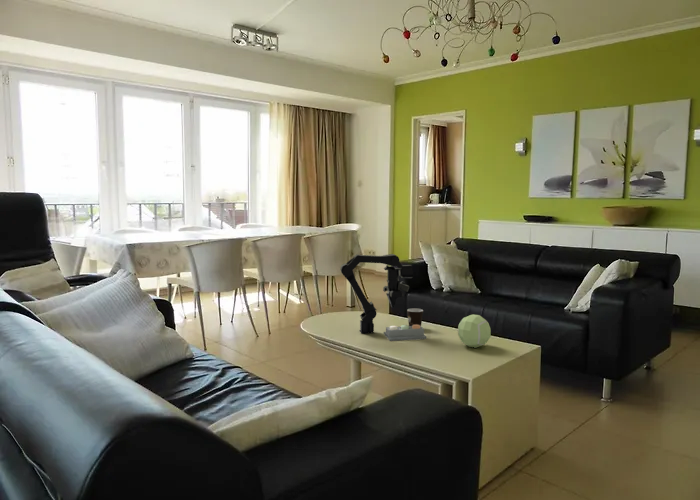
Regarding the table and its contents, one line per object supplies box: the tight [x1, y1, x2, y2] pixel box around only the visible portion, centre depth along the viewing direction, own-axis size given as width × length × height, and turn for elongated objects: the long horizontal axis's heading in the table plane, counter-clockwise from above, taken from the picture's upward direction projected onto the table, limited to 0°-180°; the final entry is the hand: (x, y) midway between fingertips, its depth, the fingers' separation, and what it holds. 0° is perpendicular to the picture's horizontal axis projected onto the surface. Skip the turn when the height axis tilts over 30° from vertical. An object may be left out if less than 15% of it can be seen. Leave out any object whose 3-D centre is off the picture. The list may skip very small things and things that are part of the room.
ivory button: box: [389, 325, 398, 330], centre depth 265 cm, size 4×4×4 cm
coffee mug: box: [406, 308, 424, 327], centre depth 285 cm, size 12×9×10 cm
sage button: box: [400, 324, 409, 329], centre depth 266 cm, size 4×4×4 cm
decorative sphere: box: [457, 314, 492, 349], centre depth 248 cm, size 15×15×15 cm
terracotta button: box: [412, 325, 420, 329], centre depth 267 cm, size 4×4×4 cm
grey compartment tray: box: [383, 325, 428, 342], centre depth 267 cm, size 19×13×4 cm
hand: (392, 307), depth 276 cm, fingers closed
